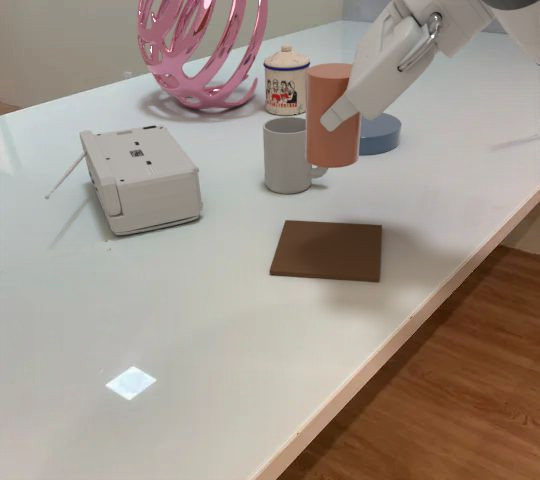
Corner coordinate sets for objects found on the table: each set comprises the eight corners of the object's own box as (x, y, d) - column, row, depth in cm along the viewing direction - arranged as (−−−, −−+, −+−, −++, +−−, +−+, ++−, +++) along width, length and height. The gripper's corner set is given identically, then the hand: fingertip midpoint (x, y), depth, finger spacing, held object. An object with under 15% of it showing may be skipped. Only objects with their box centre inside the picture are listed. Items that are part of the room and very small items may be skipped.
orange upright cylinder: (359, 148, 65) (366, 63, 59) (356, 169, 60) (363, 78, 54) (308, 147, 66) (309, 62, 60) (301, 167, 61) (302, 77, 55)
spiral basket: (266, -25, 121) (162, -112, 101) (330, 33, 106) (224, -55, 87) (199, 91, 134) (96, 34, 114) (248, 156, 120) (140, 103, 100)
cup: (270, 173, 89) (268, 115, 83) (332, 177, 87) (335, 118, 82) (260, 192, 84) (257, 132, 78) (326, 197, 82) (328, 135, 76)
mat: (381, 228, 74) (382, 224, 74) (379, 282, 65) (379, 277, 64) (285, 223, 76) (285, 219, 76) (269, 274, 67) (269, 270, 66)
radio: (170, 167, 92) (46, 190, 87) (162, 115, 87) (29, 136, 82) (208, 220, 78) (61, 252, 72) (201, 162, 72) (42, 192, 67)
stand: (399, 127, 103) (401, 110, 101) (399, 156, 93) (401, 138, 91) (323, 125, 105) (324, 109, 103) (316, 153, 95) (316, 136, 93)
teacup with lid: (257, 113, 112) (254, 48, 104) (275, 100, 118) (273, 38, 110) (314, 120, 108) (315, 53, 100) (329, 105, 114) (331, 41, 107)
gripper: (467, 60, 45) (340, 172, 53) (450, 13, 61) (353, 106, 68) (419, -4, 43) (294, 123, 51) (414, -36, 58) (318, 65, 66)
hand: (328, 113), depth 60 cm, fingers closed on orange upright cylinder, 6 cm apart
